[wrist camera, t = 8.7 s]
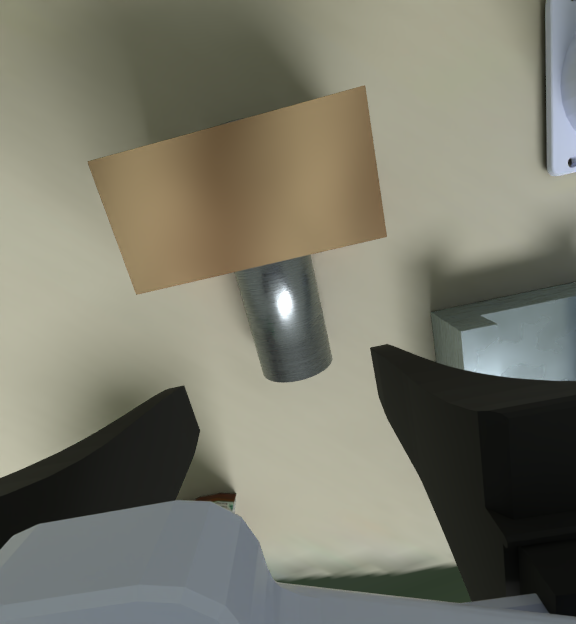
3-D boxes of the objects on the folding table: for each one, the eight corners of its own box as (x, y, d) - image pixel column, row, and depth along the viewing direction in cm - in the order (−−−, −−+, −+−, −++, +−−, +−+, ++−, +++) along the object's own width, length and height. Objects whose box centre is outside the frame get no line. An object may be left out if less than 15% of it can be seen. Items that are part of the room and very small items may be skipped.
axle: (279, 137, 17) (286, 108, 13) (323, 343, 20) (340, 369, 16) (205, 154, 16) (190, 130, 13) (262, 359, 20) (263, 389, 16)
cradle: (590, 278, 18) (659, 291, 14) (585, 476, 21) (640, 523, 18) (430, 312, 18) (460, 331, 15) (452, 497, 22) (480, 546, 19)
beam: (340, 135, 16) (365, 85, 10) (356, 232, 17) (387, 236, 12) (158, 183, 17) (87, 161, 11) (187, 272, 18) (136, 294, 12)
